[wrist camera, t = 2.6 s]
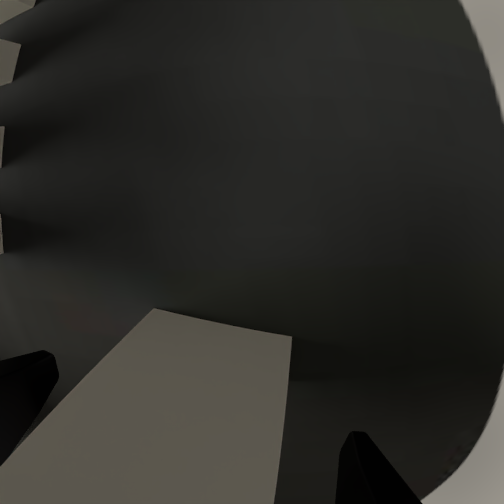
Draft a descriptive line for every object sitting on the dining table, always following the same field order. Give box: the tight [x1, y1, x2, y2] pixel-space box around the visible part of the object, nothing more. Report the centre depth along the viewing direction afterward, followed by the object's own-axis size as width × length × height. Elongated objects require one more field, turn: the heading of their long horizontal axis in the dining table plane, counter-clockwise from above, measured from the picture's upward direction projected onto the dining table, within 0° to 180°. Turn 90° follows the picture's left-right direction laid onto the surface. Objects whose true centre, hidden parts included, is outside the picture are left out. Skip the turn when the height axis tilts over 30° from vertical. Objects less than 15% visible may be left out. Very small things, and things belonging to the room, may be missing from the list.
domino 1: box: [0, 308, 292, 504], centre depth 7 cm, size 2×5×9 cm, turn 82°
